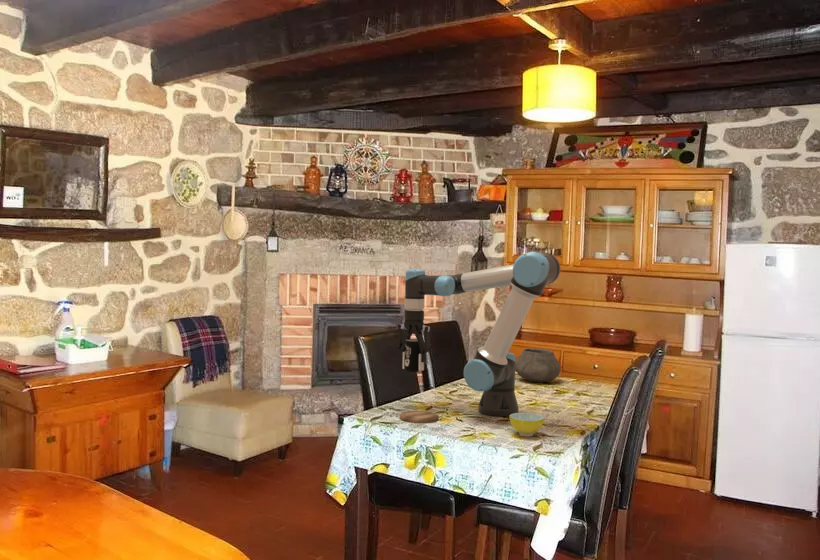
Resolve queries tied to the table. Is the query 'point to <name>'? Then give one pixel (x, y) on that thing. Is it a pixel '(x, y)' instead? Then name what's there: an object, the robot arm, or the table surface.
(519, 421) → the bowl
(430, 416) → the disc
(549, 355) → the clay pot
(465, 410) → the table surface
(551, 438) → the table surface
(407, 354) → the beverage can
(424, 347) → the robot arm
